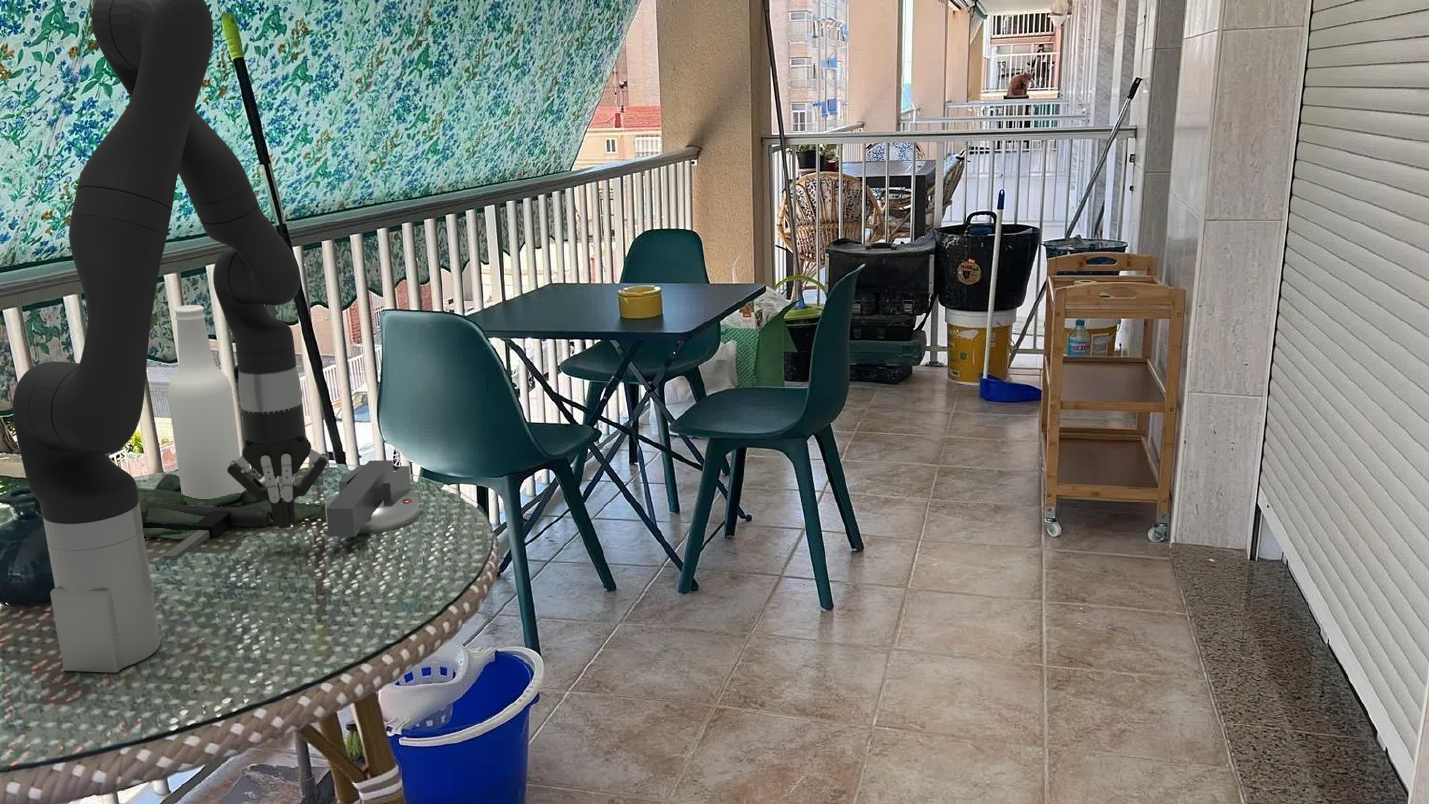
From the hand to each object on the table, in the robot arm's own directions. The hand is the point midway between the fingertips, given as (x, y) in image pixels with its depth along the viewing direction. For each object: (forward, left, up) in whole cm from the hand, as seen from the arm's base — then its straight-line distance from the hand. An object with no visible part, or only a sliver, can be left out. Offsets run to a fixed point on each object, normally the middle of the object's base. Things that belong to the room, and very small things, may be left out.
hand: (285, 525), depth 152 cm
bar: (+9, -7, -1) cm, 12 cm away
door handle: (+4, +17, -5) cm, 19 cm away
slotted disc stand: (+13, -7, -4) cm, 15 cm away
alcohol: (+20, +21, -4) cm, 30 cm away
